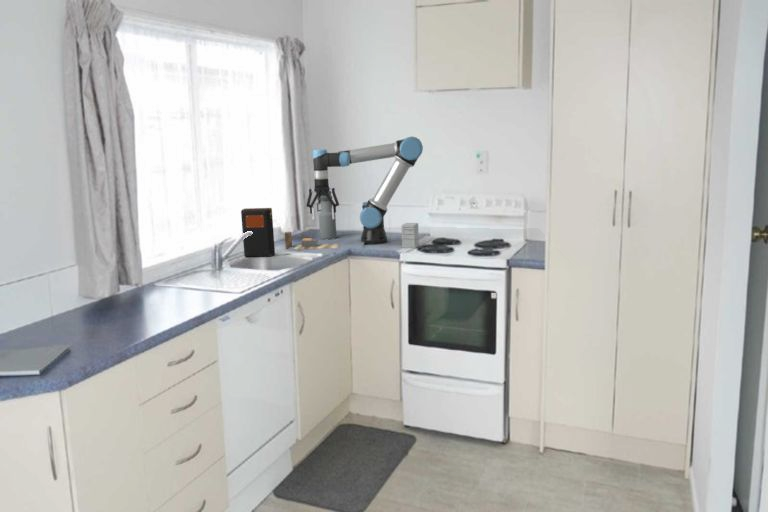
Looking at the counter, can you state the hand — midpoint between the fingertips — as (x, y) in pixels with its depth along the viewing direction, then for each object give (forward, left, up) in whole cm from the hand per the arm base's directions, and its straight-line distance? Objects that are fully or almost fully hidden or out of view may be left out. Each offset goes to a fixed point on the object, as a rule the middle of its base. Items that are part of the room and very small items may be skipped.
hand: (323, 219), depth 375 cm
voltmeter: (+32, +18, -16) cm, 40 cm away
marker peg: (+20, 0, -16) cm, 25 cm away
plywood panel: (+4, +2, -16) cm, 16 cm away
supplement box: (-47, +4, -16) cm, 50 cm away
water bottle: (+3, -32, -16) cm, 35 cm away
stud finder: (+8, 0, -15) cm, 17 cm away
